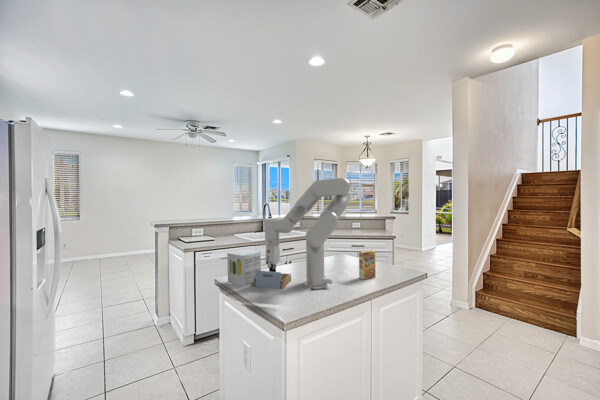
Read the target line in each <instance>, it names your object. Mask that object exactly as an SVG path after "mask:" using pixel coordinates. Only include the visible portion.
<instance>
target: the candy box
mask: <svg viewBox="0 0 600 400" xmlns="http://www.w3.org/2000/svg"><path fill="white" fill-rule="evenodd" d="M358 272H359V273H358V275H359V277H358V278H359V279H361V280H366V279H375V278H376V277H377V275H376V251H375V250H365V251H364V250H362V251H358Z"/></svg>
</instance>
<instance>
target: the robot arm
mask: <svg viewBox="0 0 600 400" xmlns="http://www.w3.org/2000/svg"><path fill="white" fill-rule="evenodd" d="M350 188H351V183H350V181H349V180H348V179H346V178H345V177H337V178H336V177H335V178H331V179H329V178H327V179H318V180H315V181H313V182H312V184H311V185H310V186H309V187H308V188H307V189H306V191H304V193H302V195H301V196H300V197H299V198H298V199H297V201H296V202H295V204H294V205H293V207H292V208H291V209H290V210H289V211H288V213H287V214H286V215H285V216H284V217H283V218H282V219H277V218H268V219H266V220H265V221H264V235H265V236H264V242H265V244H264V245H265V264H266V265H267V268H268V271H270V272H277V264H278V263H279V262H280V261H281V249H280V233H281V234H289V233H291V232H292V231H293V228H294V227H296V225H297V224H298V223H299V222H300V220H302V218H303V217H305V216H306V215H307V214H308V213H310V211H311V210H312V209H314V207H315V205H316V204H317V203H318V202H319V201H320V200H321V199H322V197H331V196H332V197H333V198H331V200H330V202H328V203H329V204H328V205H327V206H326V207H325V208H324V210H323V211H322V212H321V213H320V214H319V216H318V219H317V220H316V221H315V223H314V224H313V226H310V227H309V228H308V229H307V230H306V233H305V247H306V249H305V254H306V255H305V258H306V259H305V260H306V261H305V262H306V269H305V270H306V272H305V273H306V280H305V281H304V282H303V285H304V286H306V287H309V288H311V290H321V289H325V288H327V287H328V284H329V285H333V280H332V279H330V278H327V276H326V275H325V243H326V241H327V240H328V238H329V237H330V236H331V234H333V232H334V231H335V230H336V228H337V226H338V223H339V218H340V217H341V216H342V214H343V213H344V211H345V210H346V209H347V206H348V204H349V202H350V190H351V189H350Z"/></svg>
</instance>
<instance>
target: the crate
mask: <svg viewBox="0 0 600 400" xmlns="http://www.w3.org/2000/svg"><path fill="white" fill-rule="evenodd" d="M291 281H292V273H286V272H285V273H283V272H281V290H283V289H285V287H286V286H287V285H288V284H289V283H291ZM253 287H256V278H255V279H254V283H253ZM256 288H257V287H256Z"/></svg>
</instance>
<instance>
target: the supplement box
mask: <svg viewBox="0 0 600 400" xmlns="http://www.w3.org/2000/svg"><path fill="white" fill-rule="evenodd" d="M261 253H262V252H261V251H260V250H252V249H247V248H246V249H245V248H244V249H239V250H238V249H237V250H234V251H231V252H227V253H226V255H227V257H226V258H227V284H228V283H231V284H230V285H236V286H239V287H244V288H245V287H247V286H250V285H252V284H253V285H254V279H255V278H256V271H262V269H261V267H262V266H261V265H262V261H261V259H262V258H261Z"/></svg>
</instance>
